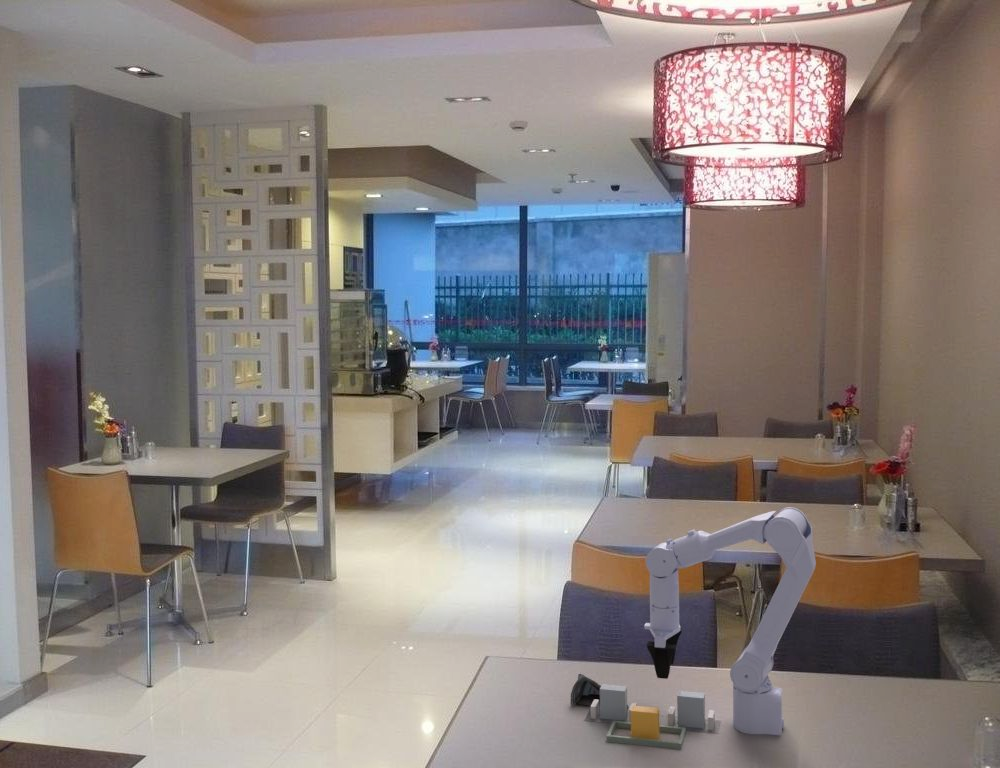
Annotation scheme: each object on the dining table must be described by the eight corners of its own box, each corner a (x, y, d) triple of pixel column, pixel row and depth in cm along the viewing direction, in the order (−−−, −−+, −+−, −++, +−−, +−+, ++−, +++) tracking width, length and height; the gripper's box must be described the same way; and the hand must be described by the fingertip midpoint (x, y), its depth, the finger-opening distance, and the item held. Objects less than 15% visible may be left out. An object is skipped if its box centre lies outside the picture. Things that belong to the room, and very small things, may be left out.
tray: (685, 737, 194) (685, 727, 194) (681, 754, 187) (681, 743, 187) (613, 730, 198) (613, 720, 198) (606, 746, 191) (606, 735, 191)
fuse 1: (627, 715, 202) (627, 686, 202) (625, 720, 200) (624, 691, 199) (602, 713, 204) (602, 684, 203) (600, 718, 201) (599, 689, 201)
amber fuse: (659, 738, 193) (659, 707, 192) (657, 744, 190) (657, 713, 190) (633, 735, 194) (633, 705, 194) (631, 741, 192) (630, 710, 191)
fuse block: (721, 725, 199) (720, 708, 198) (718, 738, 193) (718, 721, 193) (590, 713, 206) (590, 696, 206) (584, 725, 201) (583, 708, 200)
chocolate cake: (636, 705, 211) (598, 659, 215) (632, 709, 204) (592, 661, 208) (603, 735, 211) (565, 689, 215) (597, 740, 205) (558, 692, 209)
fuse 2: (705, 722, 198) (704, 693, 197) (703, 728, 195) (703, 698, 195) (679, 720, 199) (678, 690, 199) (677, 725, 197) (677, 695, 196)
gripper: (649, 592, 210) (650, 656, 211) (638, 614, 196) (639, 682, 197) (684, 594, 208) (685, 658, 209) (675, 616, 194) (676, 685, 195)
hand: (665, 670), depth 203 cm, fingers open, 7 cm apart
